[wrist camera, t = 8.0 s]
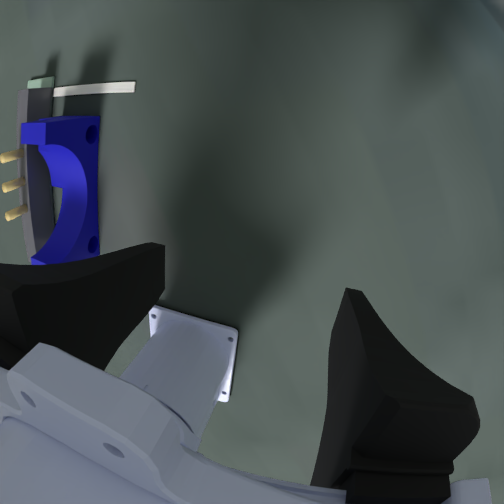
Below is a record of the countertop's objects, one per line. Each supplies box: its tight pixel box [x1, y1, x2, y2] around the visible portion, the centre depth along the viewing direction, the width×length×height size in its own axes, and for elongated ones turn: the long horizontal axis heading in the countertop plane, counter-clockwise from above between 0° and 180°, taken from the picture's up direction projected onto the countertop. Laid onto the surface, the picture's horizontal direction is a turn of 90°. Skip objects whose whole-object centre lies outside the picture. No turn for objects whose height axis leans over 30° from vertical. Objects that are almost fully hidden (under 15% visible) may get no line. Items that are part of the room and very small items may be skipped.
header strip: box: [0, 76, 55, 262], centre depth 23 cm, size 18×4×5 cm, turn 172°
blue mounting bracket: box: [21, 116, 100, 265], centre depth 22 cm, size 12×4×6 cm, turn 171°
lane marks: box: [53, 82, 136, 97], centre depth 24 cm, size 16×9×1 cm, turn 172°
